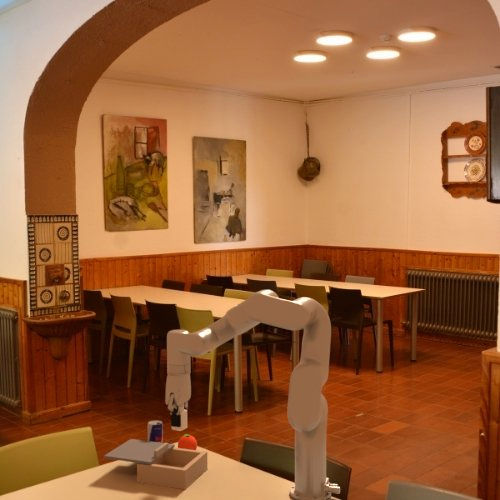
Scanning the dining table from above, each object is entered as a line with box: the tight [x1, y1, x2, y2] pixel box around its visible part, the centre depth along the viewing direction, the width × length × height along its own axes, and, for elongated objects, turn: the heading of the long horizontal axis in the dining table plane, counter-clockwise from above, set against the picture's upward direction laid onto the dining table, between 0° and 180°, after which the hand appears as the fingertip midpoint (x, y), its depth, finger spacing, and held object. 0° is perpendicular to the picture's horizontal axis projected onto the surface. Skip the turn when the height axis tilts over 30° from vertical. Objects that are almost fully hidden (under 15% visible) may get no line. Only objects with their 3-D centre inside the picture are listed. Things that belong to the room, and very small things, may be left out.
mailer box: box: [136, 447, 208, 490], centre depth 214 cm, size 17×17×6 cm
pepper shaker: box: [171, 403, 188, 432], centre depth 212 cm, size 4×4×10 cm
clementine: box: [177, 433, 198, 450], centre depth 233 cm, size 8×7×7 cm
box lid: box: [103, 438, 176, 465], centre depth 217 cm, size 17×17×3 cm
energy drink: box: [146, 419, 164, 443], centre depth 231 cm, size 5×5×12 cm
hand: (179, 423), depth 212 cm, fingers closed on pepper shaker, 4 cm apart
